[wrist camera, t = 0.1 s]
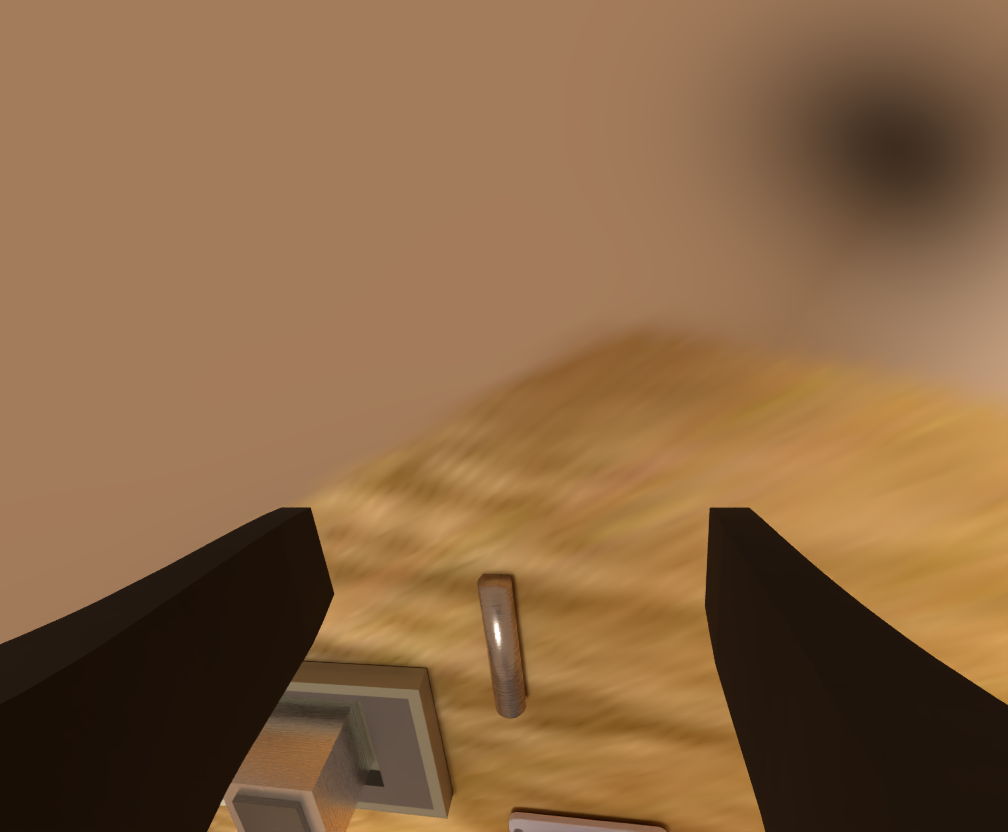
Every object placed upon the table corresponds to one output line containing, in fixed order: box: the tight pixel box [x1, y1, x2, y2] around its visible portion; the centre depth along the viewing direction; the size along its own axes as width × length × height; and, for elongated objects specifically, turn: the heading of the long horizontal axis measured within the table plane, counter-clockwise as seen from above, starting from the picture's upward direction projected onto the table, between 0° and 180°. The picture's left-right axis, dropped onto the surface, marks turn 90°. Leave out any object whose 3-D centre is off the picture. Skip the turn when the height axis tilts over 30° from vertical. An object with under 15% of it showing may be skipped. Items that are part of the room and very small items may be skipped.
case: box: [283, 661, 453, 818], centre depth 28 cm, size 9×11×1 cm
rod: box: [477, 574, 526, 718], centre depth 24 cm, size 7×1×1 cm, turn 6°
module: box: [223, 696, 374, 832], centre depth 26 cm, size 4×4×5 cm
